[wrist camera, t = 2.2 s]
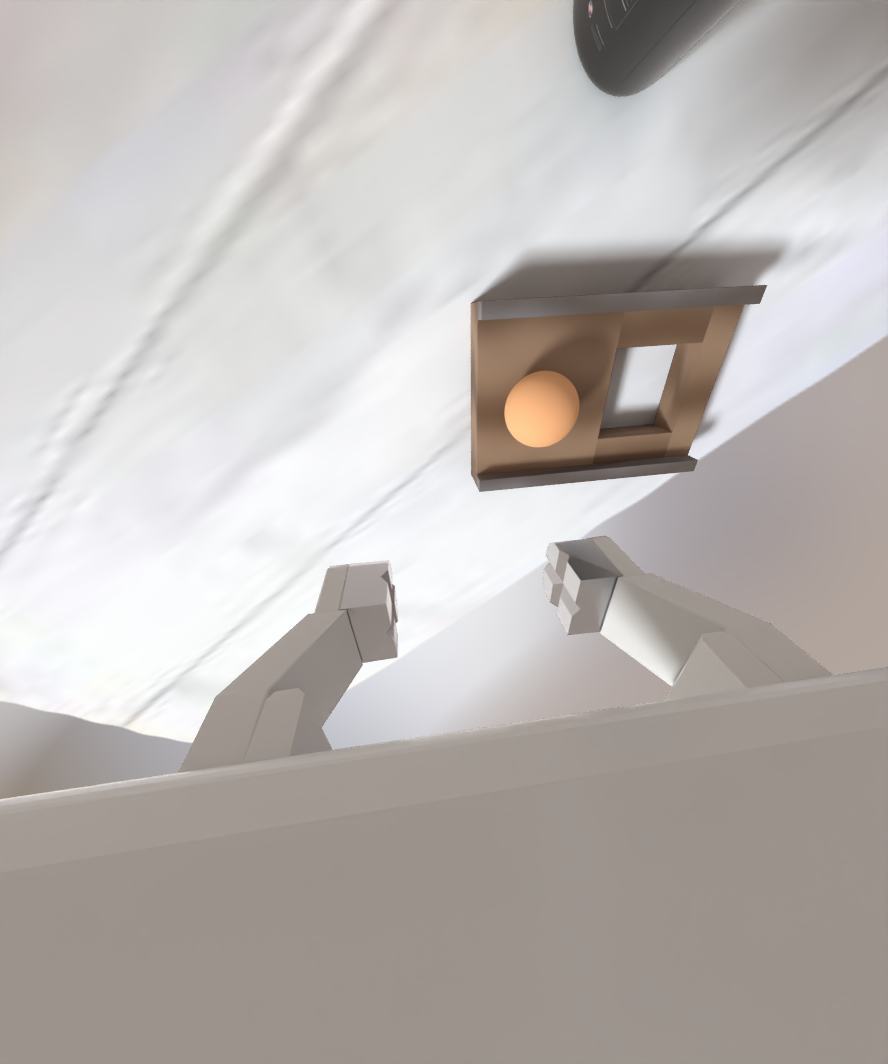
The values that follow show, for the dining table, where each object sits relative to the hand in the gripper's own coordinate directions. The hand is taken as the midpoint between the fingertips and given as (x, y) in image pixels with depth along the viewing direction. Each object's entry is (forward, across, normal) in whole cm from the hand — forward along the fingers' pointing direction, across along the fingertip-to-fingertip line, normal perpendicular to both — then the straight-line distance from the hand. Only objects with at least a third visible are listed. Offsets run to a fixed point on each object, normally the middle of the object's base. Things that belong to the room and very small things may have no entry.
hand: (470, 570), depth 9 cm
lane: (+21, -14, 0) cm, 25 cm away
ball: (+16, -8, 0) cm, 18 cm away
